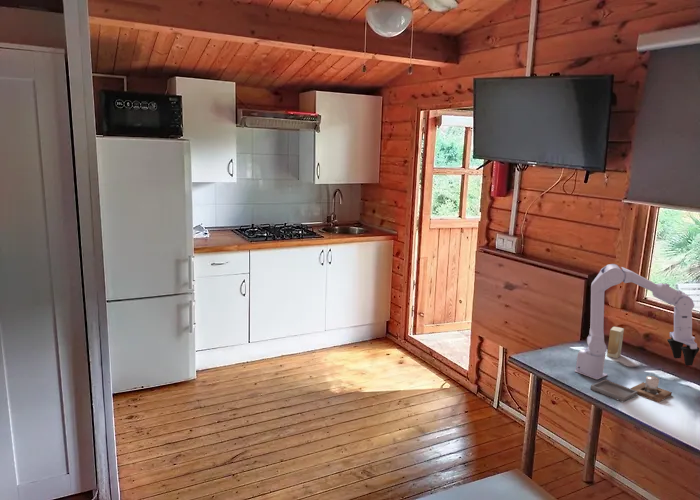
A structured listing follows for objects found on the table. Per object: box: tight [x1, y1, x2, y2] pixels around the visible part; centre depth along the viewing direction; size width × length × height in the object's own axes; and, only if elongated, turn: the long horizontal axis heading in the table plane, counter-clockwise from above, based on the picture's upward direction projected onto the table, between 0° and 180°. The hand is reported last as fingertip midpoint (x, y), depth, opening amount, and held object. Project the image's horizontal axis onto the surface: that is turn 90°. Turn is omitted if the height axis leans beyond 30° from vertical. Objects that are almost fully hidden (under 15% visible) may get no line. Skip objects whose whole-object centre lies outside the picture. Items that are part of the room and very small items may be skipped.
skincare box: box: [606, 326, 625, 359], centre depth 228 cm, size 6×4×12 cm
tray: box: [590, 379, 638, 403], centre depth 192 cm, size 12×10×2 cm
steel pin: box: [643, 375, 660, 395], centre depth 192 cm, size 4×4×6 cm
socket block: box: [630, 381, 673, 403], centre depth 192 cm, size 10×10×1 cm
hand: (682, 361), depth 196 cm, fingers open, 7 cm apart
